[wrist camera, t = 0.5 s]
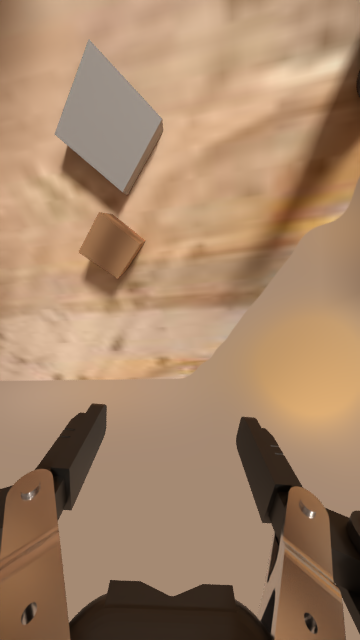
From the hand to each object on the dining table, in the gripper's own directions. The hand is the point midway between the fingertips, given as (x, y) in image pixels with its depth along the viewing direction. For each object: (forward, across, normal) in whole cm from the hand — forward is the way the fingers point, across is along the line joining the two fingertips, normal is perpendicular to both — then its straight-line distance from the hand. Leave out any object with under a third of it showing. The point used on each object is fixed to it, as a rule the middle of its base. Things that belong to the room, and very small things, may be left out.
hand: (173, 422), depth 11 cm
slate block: (+21, +11, -25) cm, 34 cm away
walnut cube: (+24, +11, -12) cm, 29 cm away
